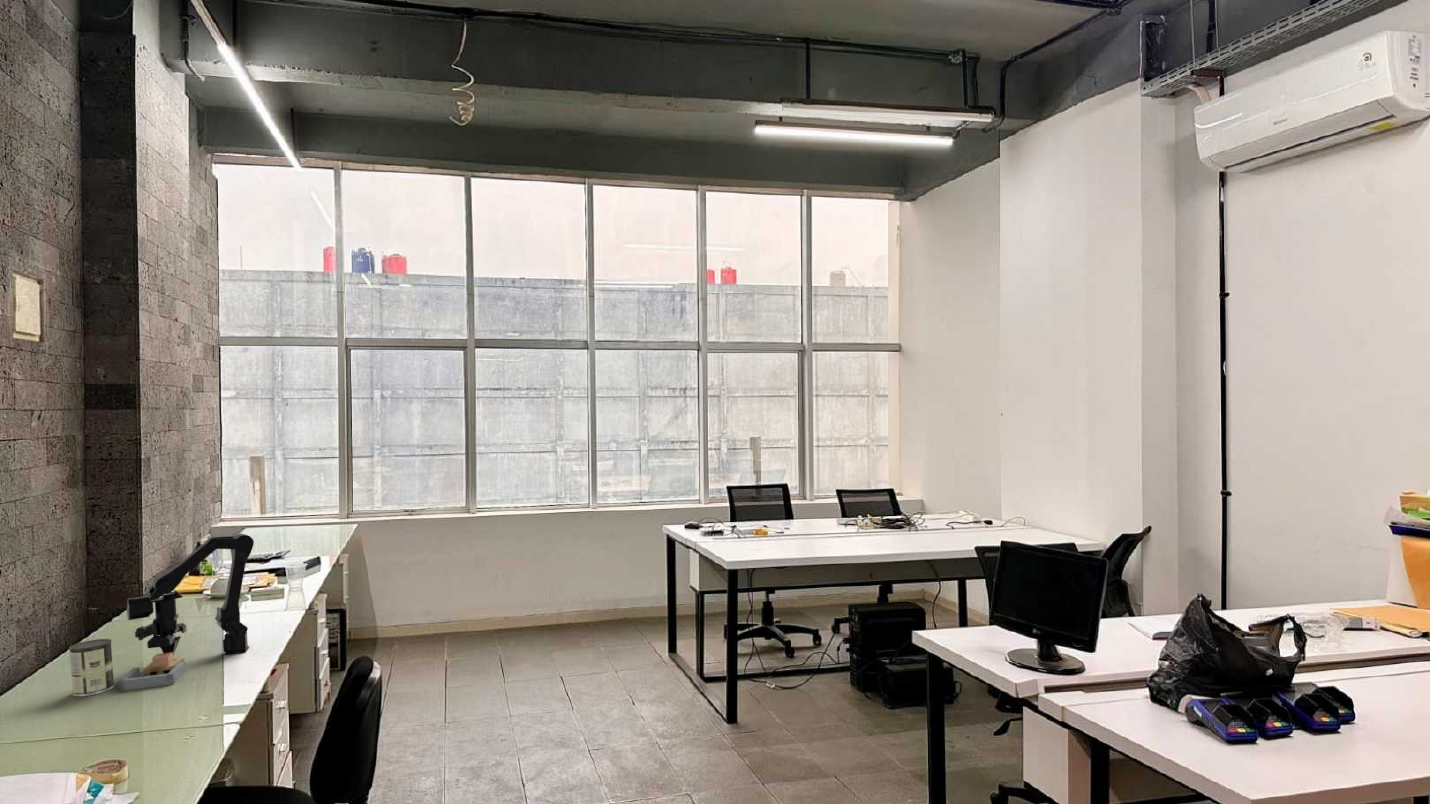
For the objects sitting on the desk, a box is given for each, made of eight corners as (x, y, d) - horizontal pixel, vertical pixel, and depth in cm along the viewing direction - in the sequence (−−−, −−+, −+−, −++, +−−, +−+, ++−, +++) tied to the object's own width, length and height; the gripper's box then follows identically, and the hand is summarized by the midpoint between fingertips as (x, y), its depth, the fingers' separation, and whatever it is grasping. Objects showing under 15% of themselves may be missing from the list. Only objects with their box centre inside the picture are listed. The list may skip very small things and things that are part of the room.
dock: (185, 670, 275) (185, 661, 275) (173, 684, 262) (172, 674, 262) (134, 677, 271) (133, 667, 271) (118, 691, 258) (117, 681, 258)
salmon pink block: (173, 661, 279) (172, 652, 279) (168, 665, 275) (168, 655, 274) (157, 663, 278) (156, 654, 277) (152, 667, 273) (152, 657, 273)
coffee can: (98, 683, 266) (95, 637, 266) (122, 685, 263) (119, 639, 263) (63, 695, 257) (60, 647, 257) (88, 697, 253) (85, 649, 253)
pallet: (184, 664, 283) (184, 657, 283) (176, 672, 274) (175, 665, 274) (153, 668, 280) (152, 661, 280) (143, 676, 271) (143, 669, 271)
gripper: (147, 609, 288) (150, 656, 289) (126, 624, 270) (130, 674, 271) (185, 605, 291) (188, 652, 292) (167, 619, 273) (170, 669, 274)
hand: (169, 661), depth 282 cm, fingers closed
